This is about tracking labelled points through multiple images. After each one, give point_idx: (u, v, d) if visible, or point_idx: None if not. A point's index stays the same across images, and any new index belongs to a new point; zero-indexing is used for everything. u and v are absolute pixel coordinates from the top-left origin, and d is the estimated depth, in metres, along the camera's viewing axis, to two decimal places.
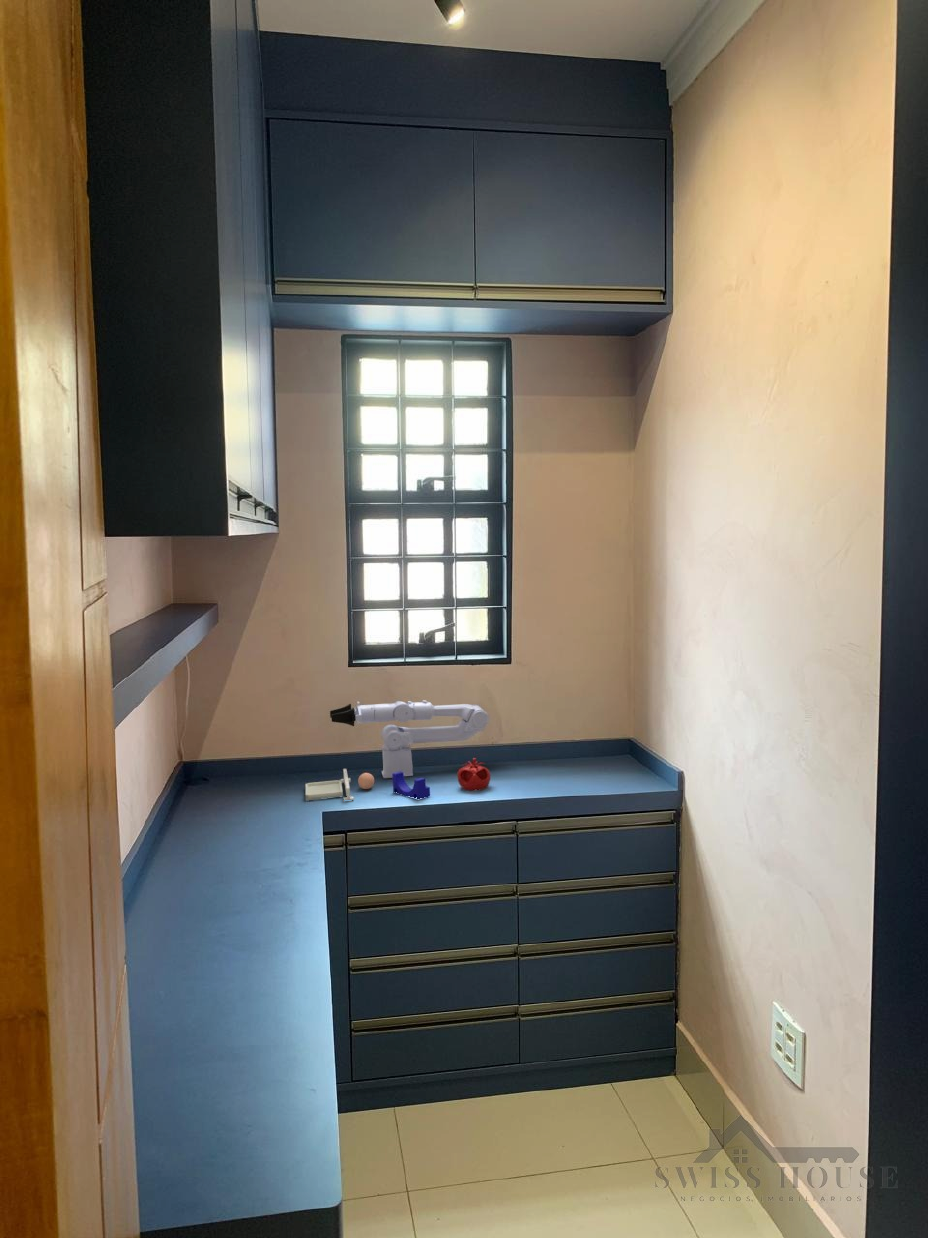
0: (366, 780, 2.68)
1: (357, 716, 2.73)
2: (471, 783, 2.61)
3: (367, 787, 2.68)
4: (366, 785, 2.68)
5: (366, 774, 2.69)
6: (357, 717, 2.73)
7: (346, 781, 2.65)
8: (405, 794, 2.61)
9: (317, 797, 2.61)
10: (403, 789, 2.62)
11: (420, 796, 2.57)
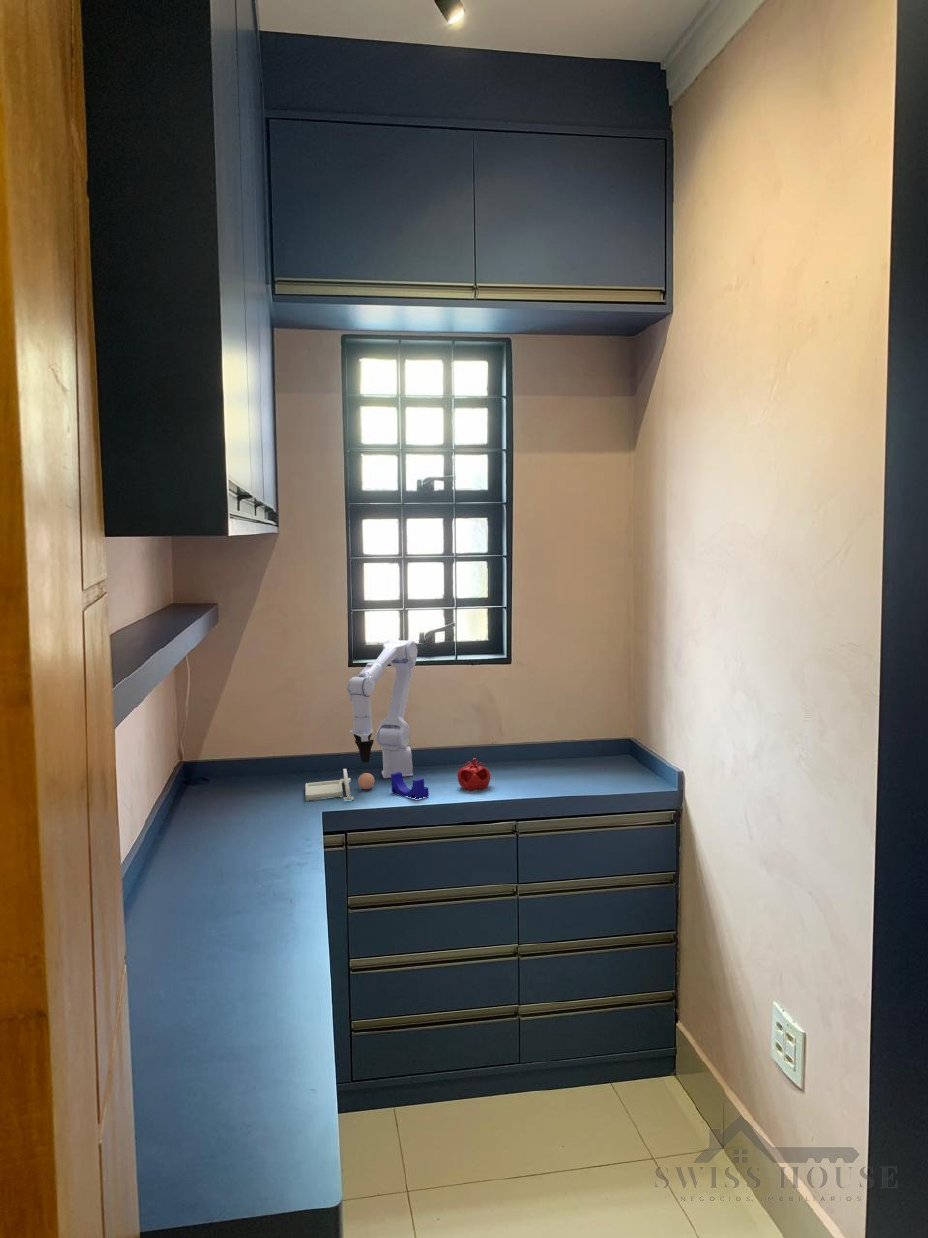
0: (366, 780, 2.68)
1: (362, 739, 2.61)
2: (471, 783, 2.61)
3: (367, 787, 2.68)
4: (366, 785, 2.68)
5: (366, 774, 2.69)
6: (363, 739, 2.61)
7: (346, 781, 2.65)
8: (404, 794, 2.61)
9: (317, 797, 2.61)
10: (402, 789, 2.62)
11: (419, 796, 2.57)
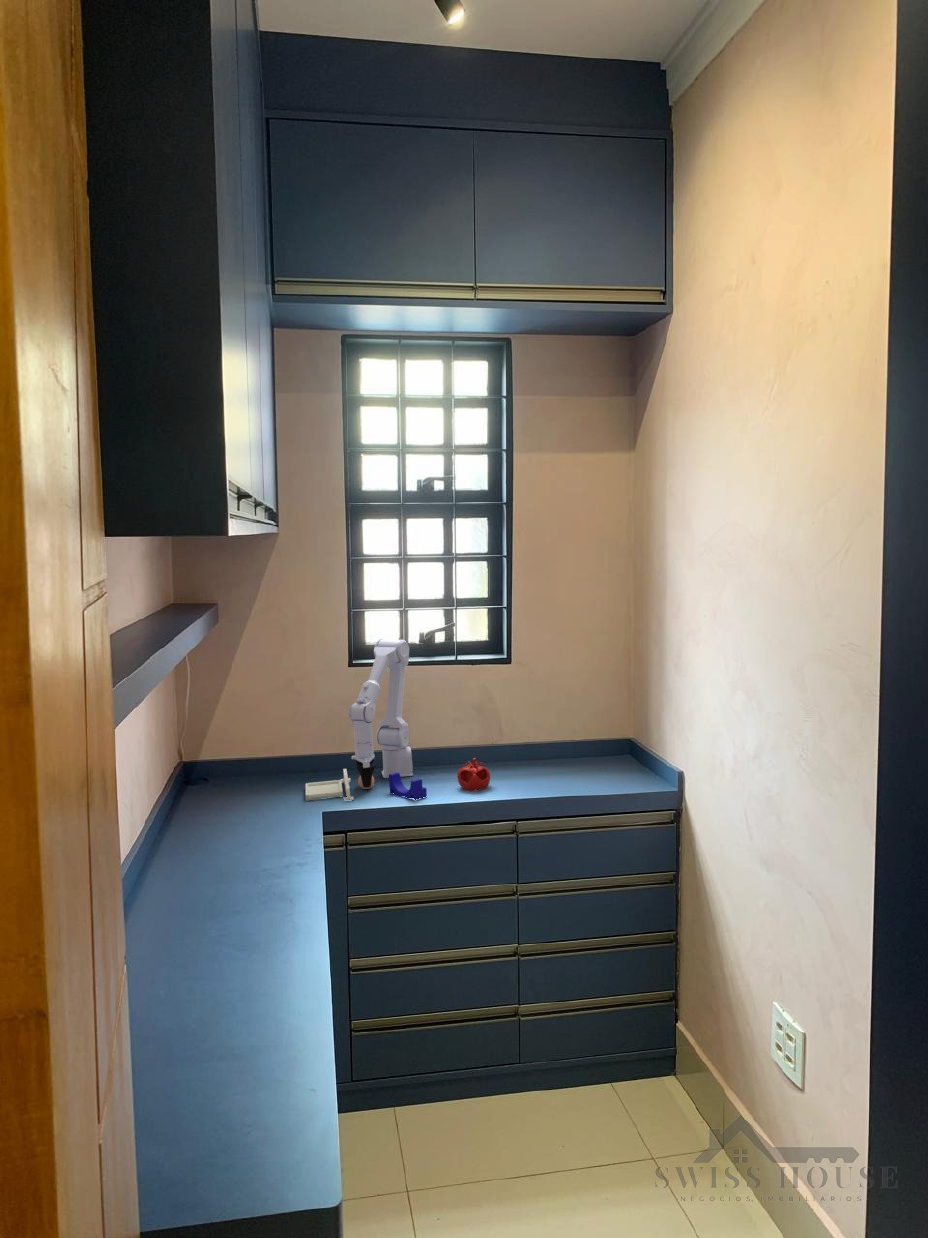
0: None
1: (364, 765, 2.62)
2: (471, 783, 2.61)
3: (367, 787, 2.68)
4: None
5: None
6: (365, 765, 2.62)
7: (346, 781, 2.65)
8: (402, 795, 2.60)
9: (317, 797, 2.61)
10: (399, 790, 2.62)
11: (417, 797, 2.56)
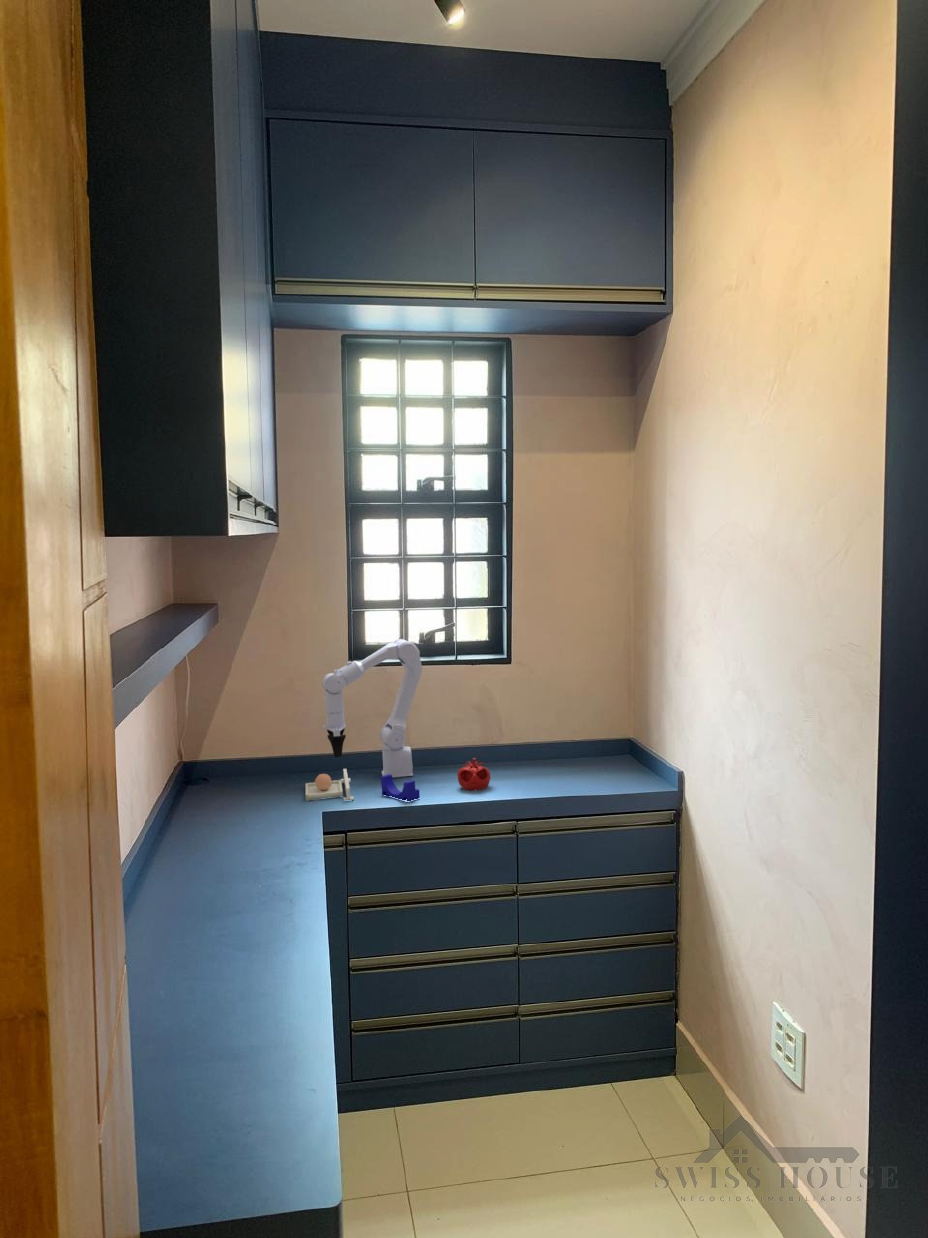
0: (322, 781, 2.65)
1: (334, 734, 2.70)
2: (471, 783, 2.61)
3: (324, 788, 2.66)
4: (323, 786, 2.66)
5: (323, 775, 2.67)
6: (335, 734, 2.70)
7: (346, 781, 2.65)
8: None
9: (317, 797, 2.61)
10: (392, 792, 2.60)
11: (410, 799, 2.55)
